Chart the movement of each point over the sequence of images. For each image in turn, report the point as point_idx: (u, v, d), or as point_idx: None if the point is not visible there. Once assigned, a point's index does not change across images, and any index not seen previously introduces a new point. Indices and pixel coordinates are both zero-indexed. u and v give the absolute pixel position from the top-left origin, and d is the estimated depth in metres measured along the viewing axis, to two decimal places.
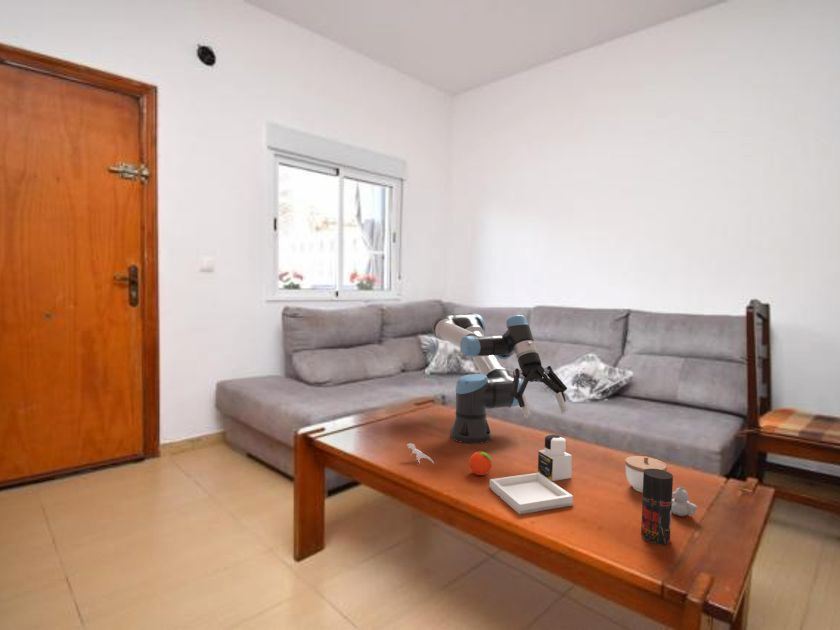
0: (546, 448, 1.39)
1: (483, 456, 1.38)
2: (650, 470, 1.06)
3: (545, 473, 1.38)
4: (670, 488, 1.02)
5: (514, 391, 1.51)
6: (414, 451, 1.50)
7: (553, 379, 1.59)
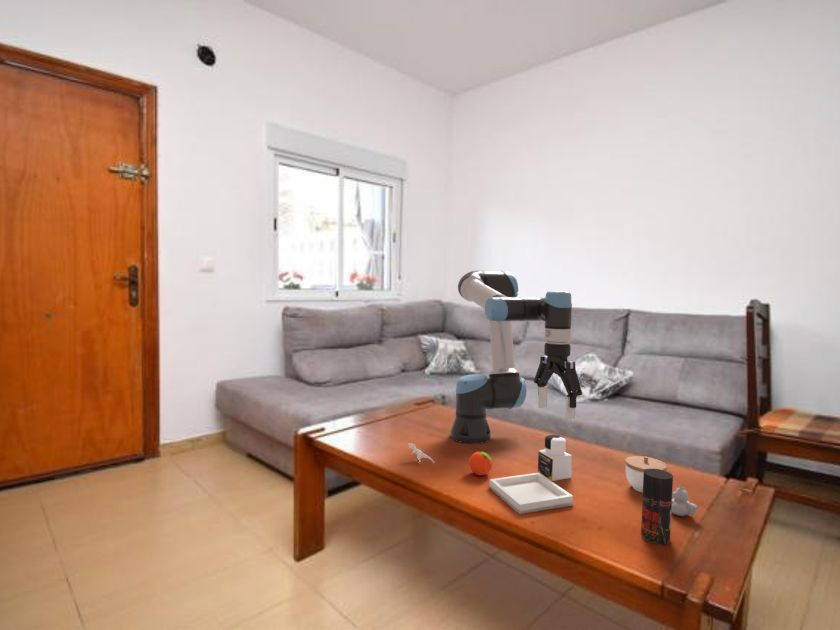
0: (546, 448, 1.39)
1: (483, 456, 1.38)
2: (650, 470, 1.06)
3: (545, 473, 1.38)
4: (670, 488, 1.02)
5: (534, 380, 1.48)
6: (415, 451, 1.50)
7: None
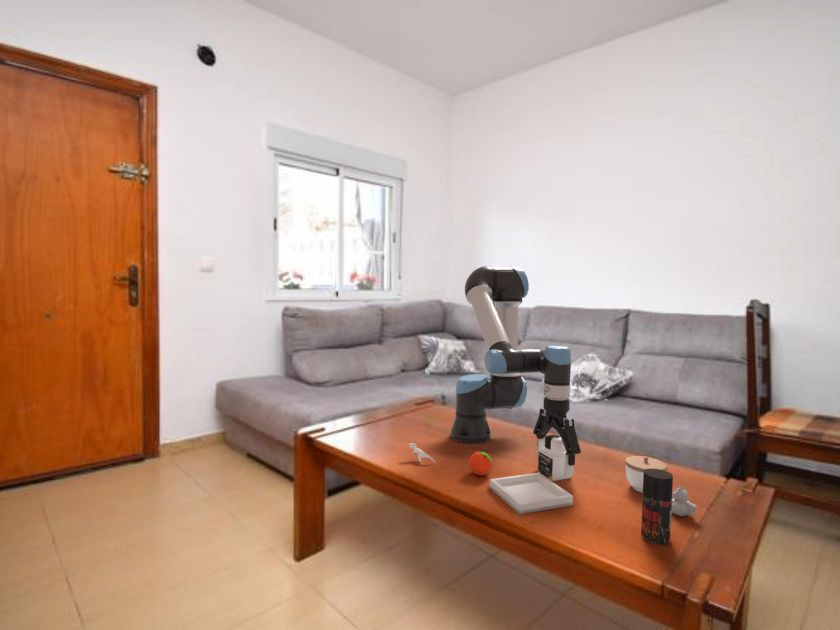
0: (546, 448, 1.39)
1: (483, 456, 1.38)
2: (650, 470, 1.06)
3: (545, 473, 1.38)
4: (670, 488, 1.02)
5: (534, 431, 1.48)
6: (415, 450, 1.50)
7: None
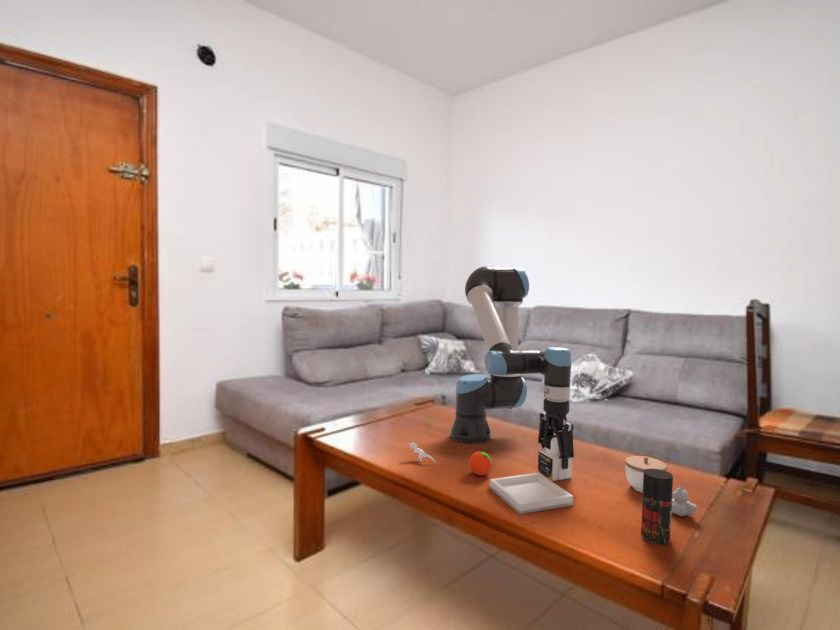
0: (546, 448, 1.39)
1: (483, 456, 1.38)
2: (650, 470, 1.06)
3: (545, 473, 1.38)
4: (670, 488, 1.02)
5: (538, 440, 1.46)
6: (416, 450, 1.51)
7: None
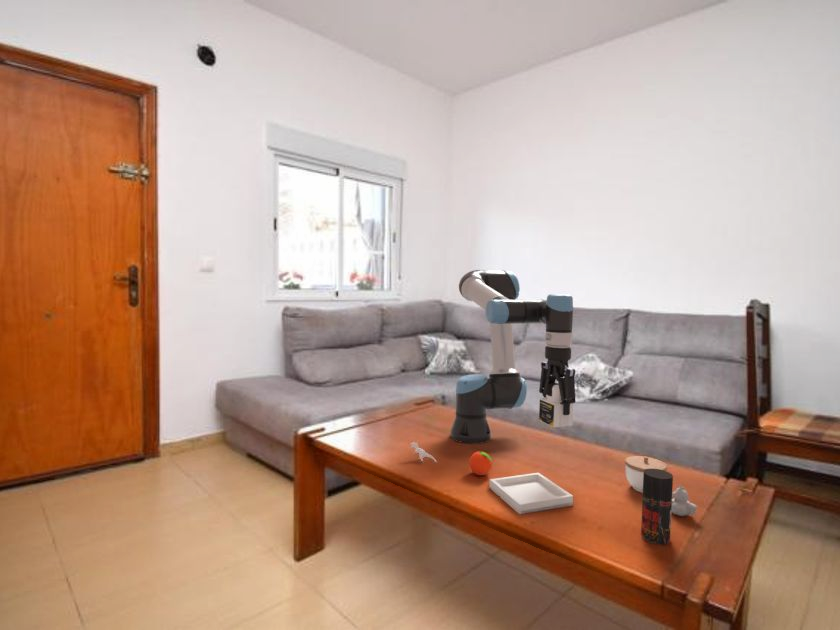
0: (547, 395, 1.38)
1: (483, 456, 1.38)
2: (650, 470, 1.06)
3: (546, 420, 1.38)
4: (670, 488, 1.02)
5: (539, 389, 1.45)
6: (417, 450, 1.51)
7: None
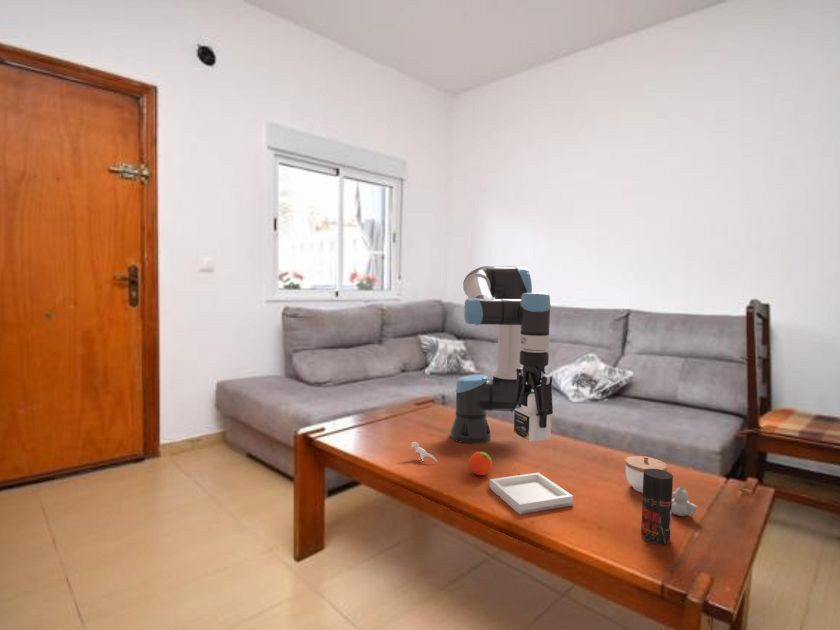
0: (522, 405, 1.24)
1: (483, 456, 1.38)
2: (650, 470, 1.06)
3: (521, 433, 1.23)
4: (670, 488, 1.02)
5: (515, 398, 1.31)
6: (418, 450, 1.51)
7: None
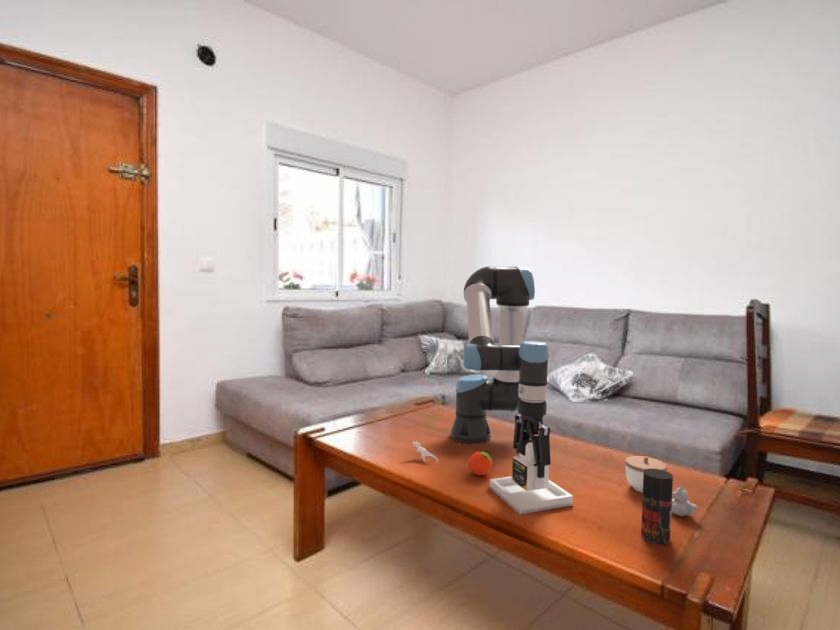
0: (521, 454, 1.24)
1: (483, 456, 1.38)
2: (650, 470, 1.06)
3: (519, 482, 1.24)
4: (670, 488, 1.02)
5: (513, 445, 1.31)
6: (419, 449, 1.52)
7: None
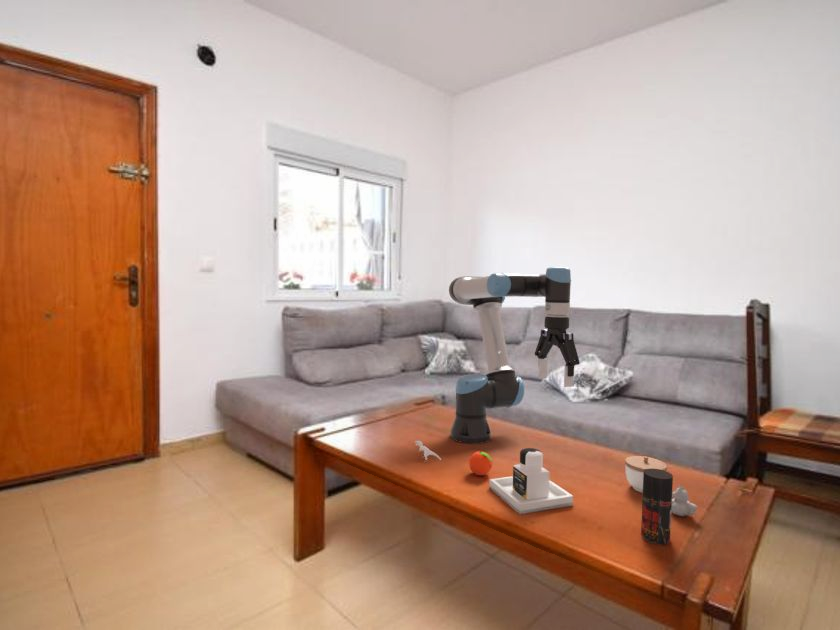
0: (521, 463, 1.24)
1: (483, 456, 1.38)
2: (650, 470, 1.06)
3: (519, 491, 1.24)
4: (670, 488, 1.02)
5: (535, 352, 1.56)
6: (422, 448, 1.53)
7: None
